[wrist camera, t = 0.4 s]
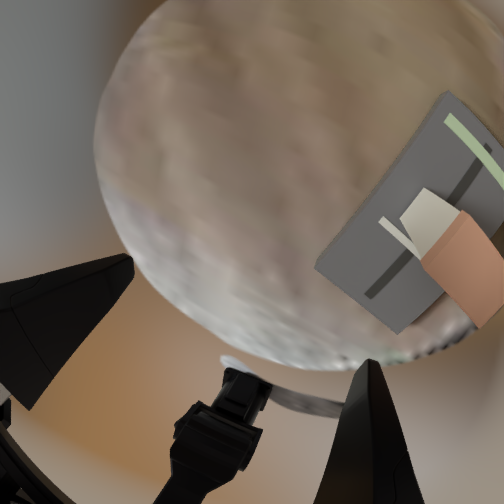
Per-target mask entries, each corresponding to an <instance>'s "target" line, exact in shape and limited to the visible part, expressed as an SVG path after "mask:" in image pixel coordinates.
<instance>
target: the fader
mask: <svg viewBox="0 0 504 504" xmlns="http://www.w3.org/2000/svg"><path fill="white" fill-rule="evenodd" d="M399 219H400V220H401V222H402V224H403V225H404V227H405V229H406V231H407V232H408V234H409V236H410V238H411V240H412V242H413V243H414V245H415V247H416V249H417V251H418V253H419V255H420V257H421V260H420V262H421V264H422V266H423V269H424V270H425V271H426V272H427V273H428V274H429V275H430V276H431V277H432V278H433V279H434V280H435V281H436V282H437V283H438V284H439V285H440V286H441V287H442V288H443V289H444V290H445V291H446V292H447V294H448V295H449V296H450V297H451V298H452V299H453V300H454V301H455V302H456V303H457V304H458V305H459V306H460V308H461V309H462V310H463V311H464V312H465V313H466V314H467V315H468V316H469V318H470V319H471V320H472V321H473V322H474V323H475V325H476V326H477V327H478V328H479V329H480V328H481V327H482V326H483V325H484V324H485V323H486V322H487V321H488V320H489V319H490V318H491V317H492V316H493V315H494V314H495V313H496V312H497V311H498V310H499V309H500V308H501V307H502V305H503V304H504V259H503V258H502V256H501V255H500V254H499V252H498V251H497V249H496V248H495V247H494V245H493V244H492V242H491V241H490V240H489V238H488V237H487V236H486V235H485V233H484V232H483V231H482V229H481V228H480V227H479V226H478V224H477V223H476V222H475V221H474V220H473V218H472V217H471V216H470V215H469V214H467V213H466V212H465V211H463V210H462V211H461V212H460V211H459V210H457V209H456V208H455V207H453V206H452V205H450V204H449V203H447V202H446V201H444V200H443V199H441V198H440V197H438V196H437V195H435V194H434V193H432V192H430V191H429V190H427V189H426V188H423V189H422V190H421V192H420V193H419V194H418V196H417V197H416V198H415V200H414V201H413V202H412V203H411V205H410V206H409V207H408V208H407V210H406V211H405V212H404V213H403V215H402V216H401V217H400V218H399Z"/></svg>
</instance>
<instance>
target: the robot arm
mask: <svg viewBox="0 0 504 504" xmlns="http://www.w3.org/2000/svg"><path fill="white" fill-rule="evenodd" d="M134 274H135V271H134V261H133V258H132V257H131V256H129V255H127V254H125V253H122V254H118V255H114V256H110V257H105V258H102V259H98V260H94V261H90V262H86V263H82V264H78V265H74V266H70V267H66V268H63V269H59V270H55V271H51V272H48V273H45V274H40V275H36V276H33V277H29V278H25V279H20V280H15V281H10V282H6V283H0V504H76V503H75V502H73V501H72V500H71V499H70V498H69V497H68V496H66V495H65V494H64V493H63V492H62V491H61V490H60V489H59V488H58V487H57V486H56V485H54V483H53V482H52V481H51V480H50V479H49V478H48V477H47V476H46V475H44V474H43V472H41V470H40V469H39V468H38V467H37V466H36V465H35V464H34V463H33V462H32V461H31V459H30V458H29V457H28V456H27V455H26V454H25V453H24V452H23V450H22V449H21V448H20V446H19V445H18V444H17V443H16V442H15V440H14V439H13V438H12V436H11V435H10V434H9V432H8V431H7V428H8V427H9V426H10V425H11V400H10V398H9V397H10V396H11V395H13V396H14V397H15V398H16V399H17V400H18V401H19V402H20V403H21V404H22V405H23V406H24V407H25V408H26V409H27V410H28V411H30V409H32V407H33V406H34V404H35V403H36V402H37V400H38V399H39V397H40V396H41V395H42V393H43V392H44V391H45V389H46V388H47V387H48V385H49V384H50V383H51V381H52V380H53V379H54V377H55V376H56V375H57V373H58V372H59V371H60V369H61V368H62V367H63V366H64V364H65V363H66V362H67V361H68V359H69V358H70V357H71V356H72V354H73V353H74V352H75V351H76V349H77V348H78V347H79V346H80V344H81V343H82V342H83V341H84V340H85V338H86V337H87V336H88V335H89V334H90V333H91V331H92V330H93V329H94V328H95V327H96V325H97V324H98V323H99V322H100V321H101V320H102V319H103V317H104V316H105V315H106V314H107V313H108V312H109V311H110V309H111V308H112V307H113V306H114V304H115V303H116V302H117V300H118V299H119V297H120V296H121V295H122V293H123V292H124V291H125V289H126V288H127V286H128V285H129V284H130V282H131V281H132V280H133V278H134ZM272 388H273V386H272V385H271V384H269V383H267V382H264V381H261V380H258V379H256V378H253V377H251V376H248V375H246V374H243V373H240V372H238V371H236V370H233V369H231V368H226V369H225V371H224V377H223V384H222V389H221V391H220V392H219V394H218V396H217V397H216V399H215V400H214V402H213V404H212V405H211V407H210V406H207V405H206V404H204V403H203V402H201V401H198V402H197V403H196V404H194V405H192V406H191V408H190V409H189V410H188V412H187V413H186V414H185V415H184V416H183V417H182V418H180V419H179V420H178V421H176V423H175V424H174V427H175V432H174V435H173V439H175V441H174V443H173V445H172V447H171V448H170V461H171V477H170V479H169V480H168V482H167V483H166V485H165V486H164V488H163V489H162V491H161V492H160V494H159V495H158V497H157V498H156V500H155V501H154V503H153V504H201V503H202V501H203V499H204V498H205V496H206V494H207V493H209V492H211V491H212V490H214V489H216V488H218V487H220V486H222V485H224V484H225V483H227V482H229V481H231V480H232V479H233V478H234V476H235V475H236V473H237V471H238V470H240V471H244V470H245V469H246V467H247V465H248V464H249V462H250V460H251V458H252V456H253V454H254V452H255V449H256V447H257V444H258V442H259V439H260V437H261V434H262V432H263V429H260V428H256V427H254V426H252V425H253V423H254V421H255V419H256V417H257V414H258V412H259V411H263V409H264V407H265V405H266V402H267V400H268V398H269V395H270V393H271V390H272ZM21 488H22V489H21ZM313 504H425V503H424V500H423V497H422V494H421V491H420V488H419V486H418V482H417V479H416V477H415V474H414V470H413V467H412V463H411V460H410V456H409V452H408V451H407V445H406V442H405V439H404V435H403V432H402V428H401V425H400V422H399V419H398V416H397V413H396V410H395V406H394V403H393V400H392V397H391V395H390V392H389V389H388V386H387V383H386V380H385V378H384V375H383V372H382V369H381V367H380V364H379V362H377V361H375V360H372V359H366V360H365V361H364V363H363V364H362V365H361V366H360V367H359V369H358V370H357V371H356V373H355V374H354V377H353V380H352V383H351V386H350V389H349V392H348V395H347V398H346V401H345V404H344V406H343V409H342V412H341V415H340V419H339V422H338V427H337V430H336V434H335V438H334V442H333V445H332V449H331V452H330V455H329V459H328V462H327V465H326V468H325V472H324V475H323V478H322V481H321V483H320V486H319V489H318V492H317V495H316V498H315V500H314V503H313Z"/></svg>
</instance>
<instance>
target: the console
mask: <svg viewBox="0 0 504 504" xmlns="http://www.w3.org/2000/svg"><path fill="white" fill-rule="evenodd" d="M423 188H426V189H427V190H429V191H430V192H432V193H434V194H435V195H437V196H438V197H440V198H441V199H443V200H444V201H446V202H447V203H449V204H450V205H452V206H453V207H455V208H456V209H457V210H459V211H460V212H461V211H462V210H463V211H465V212H466V213H467V214H469V215H470V216H471V217H472V218H473V220H474V221H475V222H476V223H477V224H478V226H479V227H480V228H481V229H482V231H483V232H484V233H485V235H486V236H487V237H488V238H489V240H490V239H491V237H492V236H493V235H494V234H495V232H496V231H497V230H498V228H499V227H500V225H501V224H502V223H503V221H504V149H503V148H502V146H501V145H500V144H499V143H498V141H497V140H496V139H495V138H494V137H493V135H492V134H491V133H490V132H489V131H488V130H487V128H486V127H485V126H484V125H483V124H482V123H481V122H480V121H479V120H478V119H477V117H476V116H475V115H474V114H473V113H472V112H471V111H470V110H469V109H468V108H467V107H466V106H465V105H464V104H463V103H462V102H461V101H460V100H459V99H458V98H456V97H455V96H454V95H453V94H452V93H451V92H450V91H449V90H447V91H445V92H444V93H442V94H441V95H440V96H439V98H438V99H437V101H436V102H435V104H434V105H433V107H432V108H431V110H430V111H429V113H428V114H427V116H426V117H425V119H424V120H423V122H422V123H421V125H420V126H419V127H418V129H417V130H416V132H415V133H414V135H413V136H412V138H411V139H410V140H409V142H408V143H407V145H406V146H405V147H404V149H403V150H402V152H401V153H400V154H399V156H398V157H397V158H396V160H395V161H394V163H393V164H392V165H391V167H390V168H389V169H388V171H387V172H386V173H385V175H384V176H383V177H382V179H381V180H380V181H379V183H378V184H377V185H376V187H375V188H374V189H373V191H372V192H371V193H370V194H369V196H368V197H367V198H366V200H365V201H364V202H363V203H362V205H361V206H360V207H359V209H358V210H357V211H356V212H355V214H354V215H353V216H352V217H351V219H350V220H349V221H348V222H347V224H346V225H345V226H344V227H343V228H342V230H341V231H340V232H339V233H338V235H337V236H336V237H335V238H334V239H333V241H332V242H331V243H330V244H329V245H328V247H327V248H326V249H325V250H324V251H323V253H322V254H321V255H320V256H319V257H318V259H317V261H316V264H315V267H314V269H315V270H317V271H318V272H319V273H321V274H322V275H323V276H324V277H326V278H327V279H328V280H330V281H331V282H332V283H333V284H335V285H336V286H337V287H338V288H340V289H341V290H342V291H344V292H345V293H346V294H347V295H349V296H350V297H351V298H352V299H354V300H355V301H356V302H357V303H359V304H360V305H361V306H362V307H364V308H365V309H366V310H367V311H369V312H370V313H371V314H372V315H374V316H375V317H376V318H377V319H379V320H380V321H381V322H382V323H384V324H385V325H386V326H387V327H388V328H390V329H391V330H392V331H393V332H395V333H396V334H397V335H398V334H399V333H400V332H401V331H403V330H404V329H405V328H406V327H407V326H408V325H410V324H411V323H412V322H413V321H414V320H415V319H416V318H417V317H418V316H420V315H421V314H422V313H423V312H424V311H425V310H426V309H427V308H428V307H429V306H430V305H431V304H432V303H433V302H434V301H435V300H436V299H437V298H438V297H439V296H440V295H441V294H442V293H443V292H444V291H445V290H444V289H443V288H442V287H441V286H440V285H439V284H438V283H437V282H436V281H435V280H434V279H433V278H432V277H431V276H430V275H429V274H428V273H427V272H426V271H425V270H424V269H423V266H422V264H421V262H420V260H421V257H420V255H419V253H418V251H417V249H416V247H415V245H414V243H413V242H412V240H411V238H410V236H409V234H408V232H407V231H406V229H405V227H404V225H403V224H402V222H401V220H400V219H399V218H400V217H401V216H402V215H403V213H404V212H405V211H406V210H407V208H408V207H409V206H410V205H411V203H412V202H413V201H414V200H415V198H416V197H417V196H418V194H419V193H420V192H421V190H422V189H423Z"/></svg>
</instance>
